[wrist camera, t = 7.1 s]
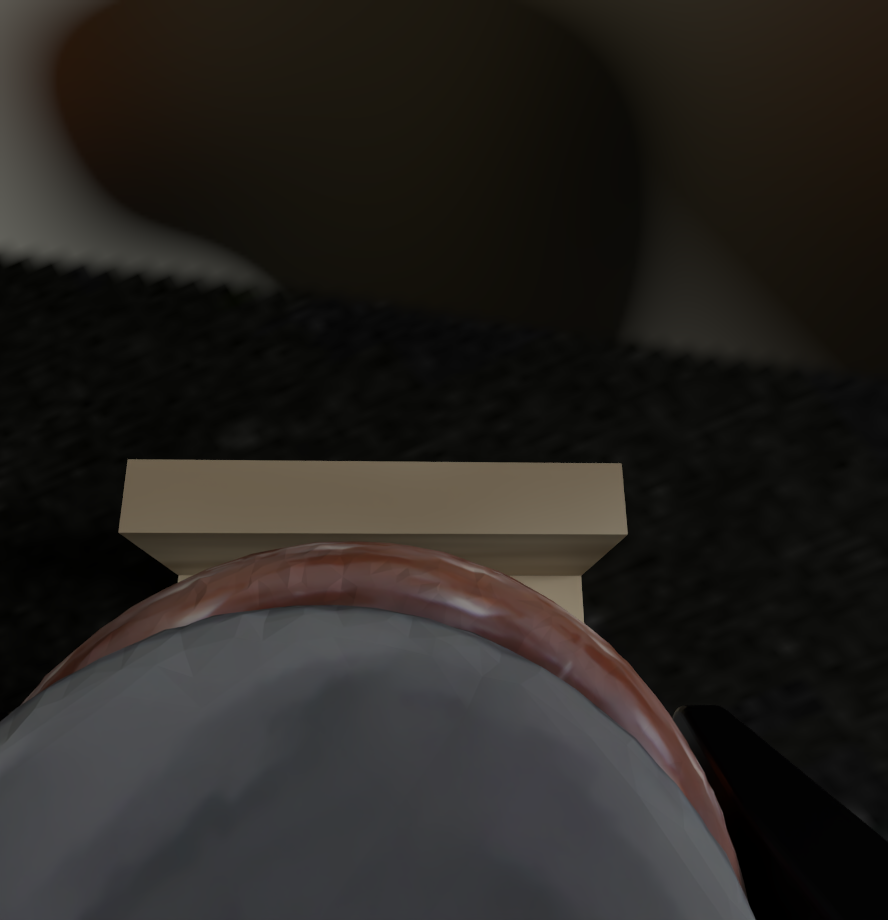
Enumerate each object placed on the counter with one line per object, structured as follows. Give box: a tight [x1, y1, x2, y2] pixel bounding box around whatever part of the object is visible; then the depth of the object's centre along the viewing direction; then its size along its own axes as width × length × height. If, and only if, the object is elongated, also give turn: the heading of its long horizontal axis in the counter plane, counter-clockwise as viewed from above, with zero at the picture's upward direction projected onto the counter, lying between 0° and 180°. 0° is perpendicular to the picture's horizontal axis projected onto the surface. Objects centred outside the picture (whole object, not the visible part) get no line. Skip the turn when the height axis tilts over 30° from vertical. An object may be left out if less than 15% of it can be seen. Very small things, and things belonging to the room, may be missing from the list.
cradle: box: [118, 459, 628, 623], centre depth 13 cm, size 11×8×4 cm
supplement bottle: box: [0, 541, 756, 920], centre depth 8 cm, size 6×6×11 cm
